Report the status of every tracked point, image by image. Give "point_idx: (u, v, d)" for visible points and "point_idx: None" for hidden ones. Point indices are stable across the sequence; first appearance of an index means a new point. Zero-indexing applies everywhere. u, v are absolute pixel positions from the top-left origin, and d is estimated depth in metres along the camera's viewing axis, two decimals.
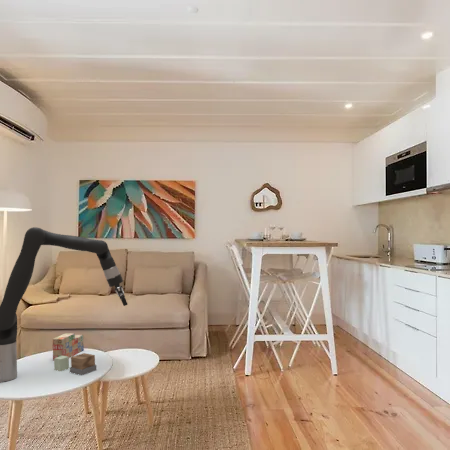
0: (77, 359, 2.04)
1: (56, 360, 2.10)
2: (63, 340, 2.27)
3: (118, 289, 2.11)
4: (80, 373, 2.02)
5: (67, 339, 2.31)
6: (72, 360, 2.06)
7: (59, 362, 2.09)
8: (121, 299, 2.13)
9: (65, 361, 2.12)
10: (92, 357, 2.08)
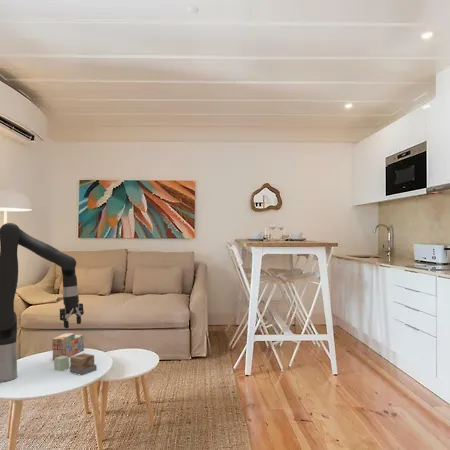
0: (76, 359, 2.04)
1: (56, 360, 2.10)
2: (63, 340, 2.27)
3: (61, 310, 2.08)
4: (80, 373, 2.02)
5: (67, 339, 2.31)
6: (71, 360, 2.06)
7: (59, 362, 2.09)
8: None
9: (65, 361, 2.12)
10: (91, 357, 2.08)
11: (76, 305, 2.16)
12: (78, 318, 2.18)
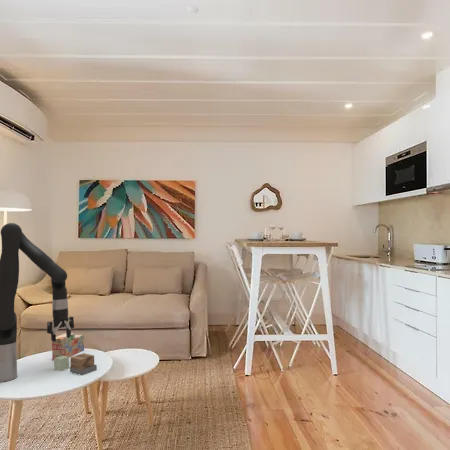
0: (76, 359, 2.04)
1: (56, 360, 2.10)
2: (62, 340, 2.28)
3: (48, 323, 2.07)
4: (80, 373, 2.02)
5: (66, 339, 2.31)
6: (71, 360, 2.06)
7: (59, 362, 2.09)
8: None
9: (65, 361, 2.12)
10: (91, 357, 2.08)
11: (65, 318, 2.14)
12: (68, 331, 2.16)
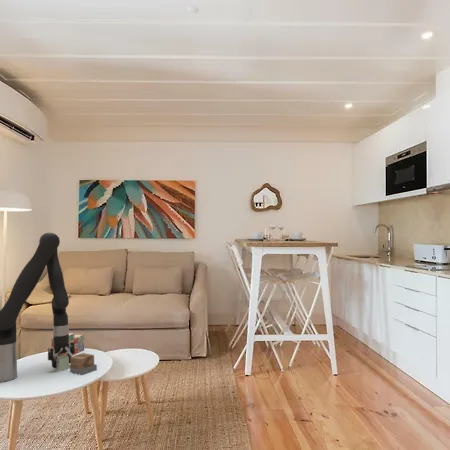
0: (76, 359, 2.04)
1: (56, 360, 2.10)
2: None
3: (49, 350, 2.07)
4: (80, 373, 2.02)
5: None
6: (71, 360, 2.06)
7: (59, 362, 2.09)
8: None
9: (65, 361, 2.12)
10: (91, 357, 2.08)
11: (66, 344, 2.14)
12: None
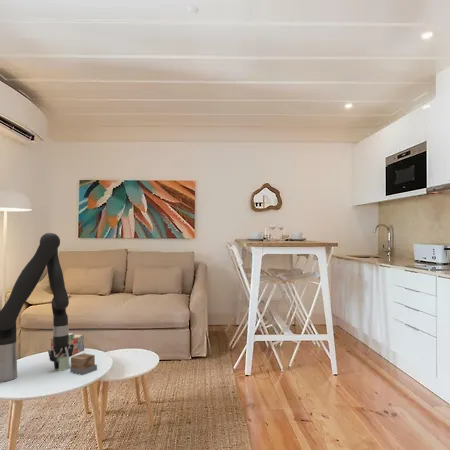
0: (77, 359, 2.04)
1: None
2: None
3: (49, 352, 2.07)
4: (81, 373, 2.02)
5: None
6: (72, 360, 2.06)
7: (59, 362, 2.09)
8: None
9: (66, 361, 2.12)
10: (92, 357, 2.08)
11: (66, 344, 2.14)
12: None
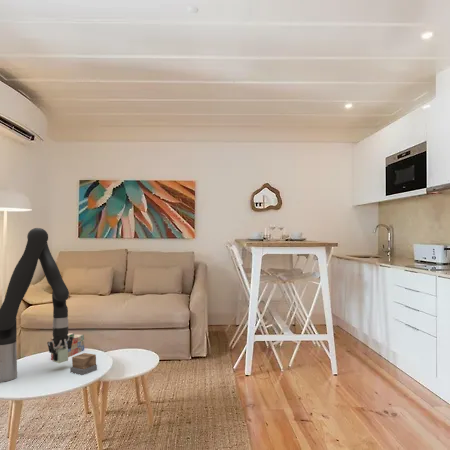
0: (79, 359, 2.04)
1: None
2: None
3: (48, 344, 2.07)
4: (81, 373, 2.02)
5: None
6: (73, 360, 2.06)
7: (58, 354, 2.09)
8: None
9: (65, 353, 2.12)
10: (93, 357, 2.09)
11: (66, 336, 2.14)
12: None
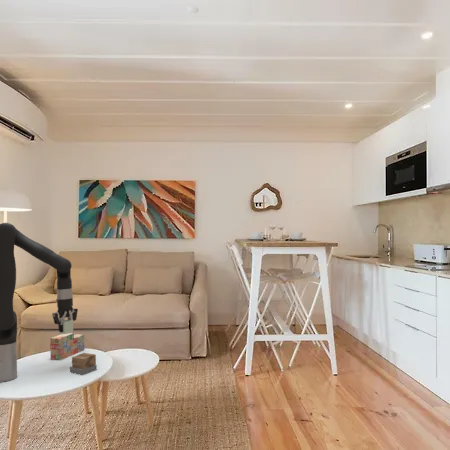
0: (79, 359, 2.04)
1: None
2: (60, 340, 2.28)
3: (53, 315, 2.07)
4: (80, 373, 2.02)
5: (65, 339, 2.32)
6: (73, 360, 2.06)
7: (63, 325, 2.09)
8: None
9: (70, 324, 2.11)
10: (93, 356, 2.09)
11: (70, 308, 2.14)
12: None
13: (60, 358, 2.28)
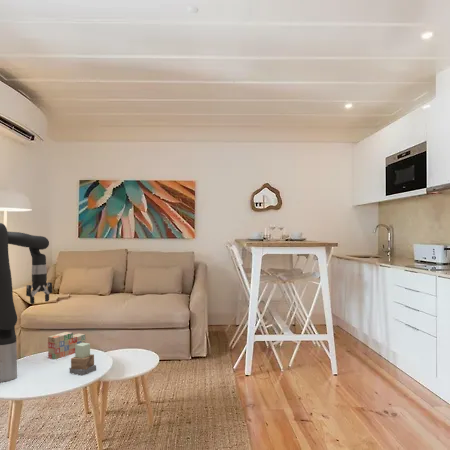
0: (79, 360, 2.03)
1: (78, 347, 2.06)
2: (56, 339, 2.31)
3: (27, 286, 2.22)
4: (80, 373, 2.02)
5: (62, 338, 2.34)
6: (72, 362, 2.04)
7: (81, 349, 2.05)
8: None
9: (87, 348, 2.08)
10: (92, 357, 2.09)
11: (44, 283, 2.29)
12: (46, 296, 2.30)
13: (56, 357, 2.30)
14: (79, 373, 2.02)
